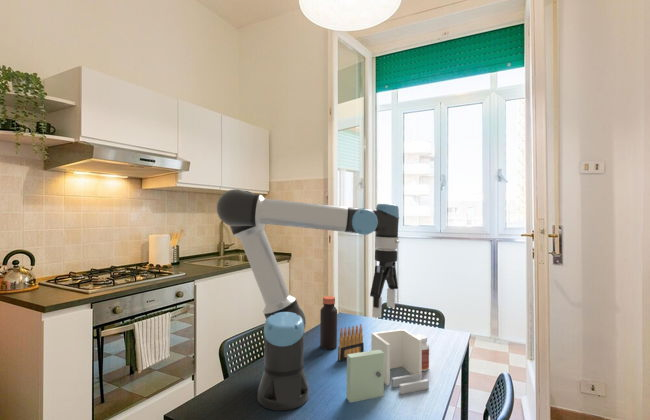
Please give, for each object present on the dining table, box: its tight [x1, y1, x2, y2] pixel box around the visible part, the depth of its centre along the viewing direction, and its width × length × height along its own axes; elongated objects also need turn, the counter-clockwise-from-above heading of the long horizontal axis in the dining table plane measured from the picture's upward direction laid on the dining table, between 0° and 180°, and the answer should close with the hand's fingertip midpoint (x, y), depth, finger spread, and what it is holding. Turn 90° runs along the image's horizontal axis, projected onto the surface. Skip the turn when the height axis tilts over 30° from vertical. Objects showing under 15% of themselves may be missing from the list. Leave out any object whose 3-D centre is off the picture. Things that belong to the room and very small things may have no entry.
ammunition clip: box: [337, 323, 365, 362], centre depth 130 cm, size 11×2×12 cm, turn 121°
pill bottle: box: [414, 333, 430, 372], centre depth 122 cm, size 6×6×11 cm
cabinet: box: [370, 328, 430, 395], centre depth 114 cm, size 13×17×13 cm
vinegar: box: [319, 295, 338, 351], centre depth 140 cm, size 7×7×20 cm
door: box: [346, 350, 385, 403], centre depth 102 cm, size 11×4×13 cm, turn 110°
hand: (384, 312), depth 117 cm, fingers open, 13 cm apart
